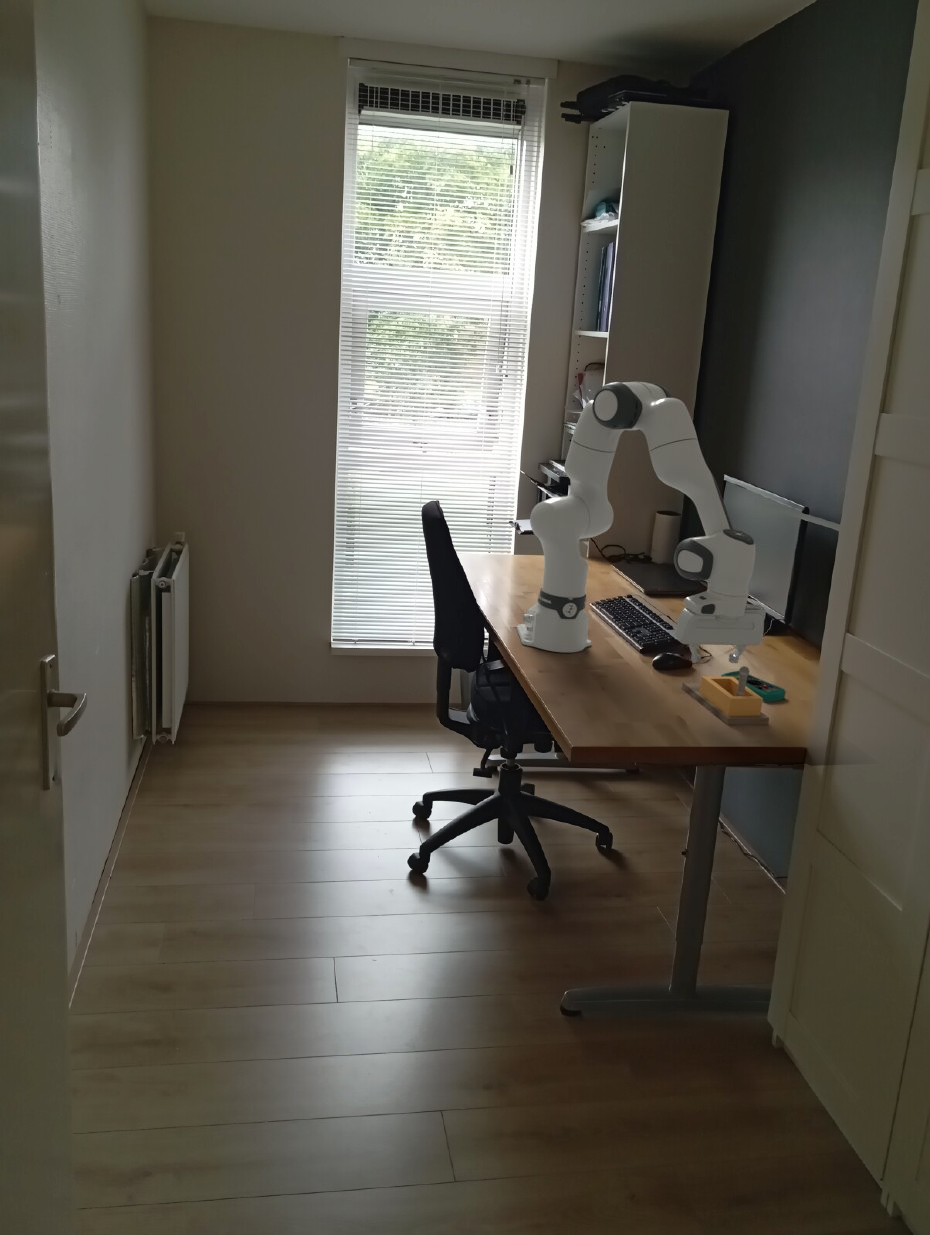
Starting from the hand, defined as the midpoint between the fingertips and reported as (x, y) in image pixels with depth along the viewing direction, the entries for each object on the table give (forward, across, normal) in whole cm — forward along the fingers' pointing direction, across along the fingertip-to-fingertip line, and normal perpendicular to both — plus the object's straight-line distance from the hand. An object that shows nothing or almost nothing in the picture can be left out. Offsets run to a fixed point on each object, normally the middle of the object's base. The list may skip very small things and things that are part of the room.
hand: (714, 662), depth 229 cm
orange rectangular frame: (+8, -3, +4) cm, 10 cm away
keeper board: (+10, -4, +1) cm, 11 cm away
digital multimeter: (+11, -16, -8) cm, 21 cm away
